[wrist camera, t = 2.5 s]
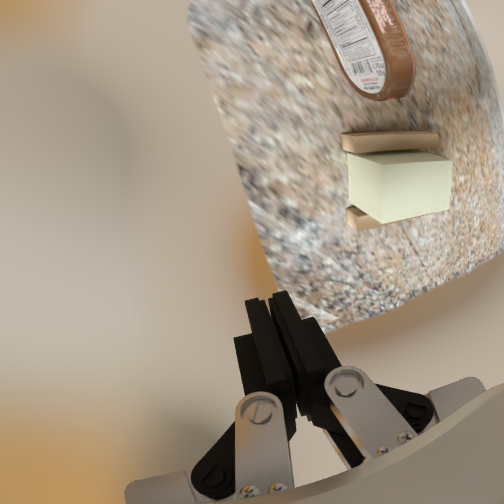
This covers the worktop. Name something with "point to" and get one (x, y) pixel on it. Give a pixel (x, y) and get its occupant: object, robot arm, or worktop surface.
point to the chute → (382, 143)
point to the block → (399, 183)
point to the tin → (369, 46)
